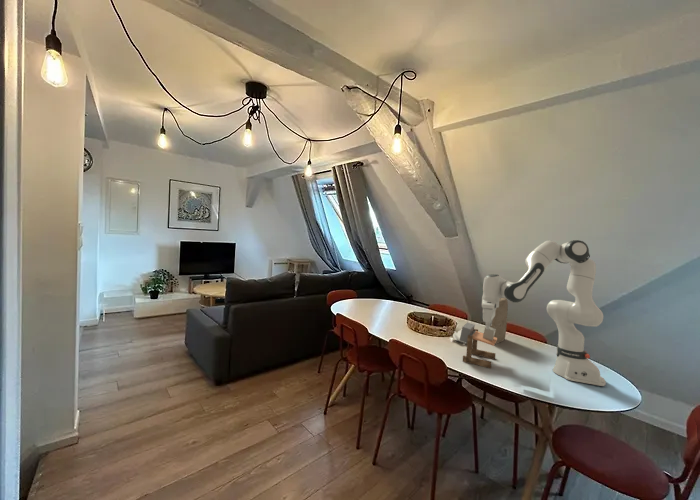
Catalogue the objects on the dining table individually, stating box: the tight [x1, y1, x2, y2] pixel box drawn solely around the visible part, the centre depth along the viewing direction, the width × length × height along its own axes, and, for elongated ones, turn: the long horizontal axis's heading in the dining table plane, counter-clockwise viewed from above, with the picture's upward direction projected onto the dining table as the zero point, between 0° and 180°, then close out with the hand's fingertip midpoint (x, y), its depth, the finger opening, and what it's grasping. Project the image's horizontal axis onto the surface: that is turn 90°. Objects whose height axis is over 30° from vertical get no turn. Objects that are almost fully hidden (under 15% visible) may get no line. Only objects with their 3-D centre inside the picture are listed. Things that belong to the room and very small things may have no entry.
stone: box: [483, 326, 496, 341], centre depth 174 cm, size 5×5×6 cm
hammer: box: [460, 322, 497, 347], centre depth 177 cm, size 18×14×8 cm
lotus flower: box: [449, 329, 467, 346], centre depth 206 cm, size 14×15×9 cm
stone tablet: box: [490, 297, 509, 345], centre depth 212 cm, size 20×8×30 cm, turn 130°
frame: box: [462, 328, 496, 369], centre depth 177 cm, size 14×18×15 cm
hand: (488, 327), depth 174 cm, fingers open, 7 cm apart
